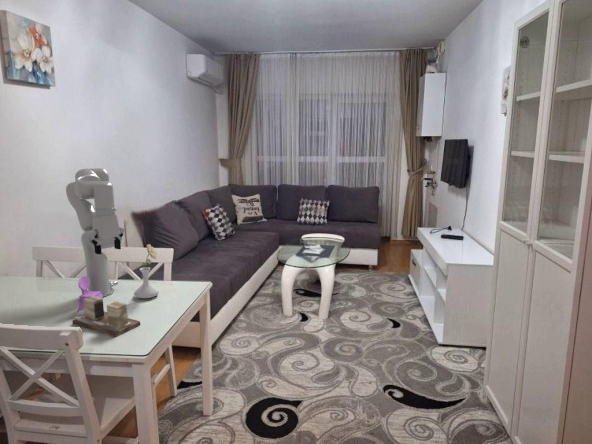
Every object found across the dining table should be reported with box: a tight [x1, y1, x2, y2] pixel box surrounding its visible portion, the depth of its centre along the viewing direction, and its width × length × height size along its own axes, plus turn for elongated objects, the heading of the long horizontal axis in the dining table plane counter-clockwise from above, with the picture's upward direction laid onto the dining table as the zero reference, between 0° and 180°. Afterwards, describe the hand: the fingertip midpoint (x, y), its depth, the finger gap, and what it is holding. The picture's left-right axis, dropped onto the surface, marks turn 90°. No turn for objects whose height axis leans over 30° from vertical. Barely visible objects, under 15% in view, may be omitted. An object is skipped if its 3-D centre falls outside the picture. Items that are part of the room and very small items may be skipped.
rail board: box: [72, 296, 141, 338], centre depth 165 cm, size 12×25×10 cm, turn 63°
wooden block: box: [106, 301, 129, 327], centre depth 162 cm, size 4×7×8 cm
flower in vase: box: [133, 243, 160, 299], centre depth 196 cm, size 13×11×25 cm
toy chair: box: [76, 275, 104, 313], centre depth 180 cm, size 8×9×15 cm
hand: (108, 251), depth 177 cm, fingers open, 9 cm apart
